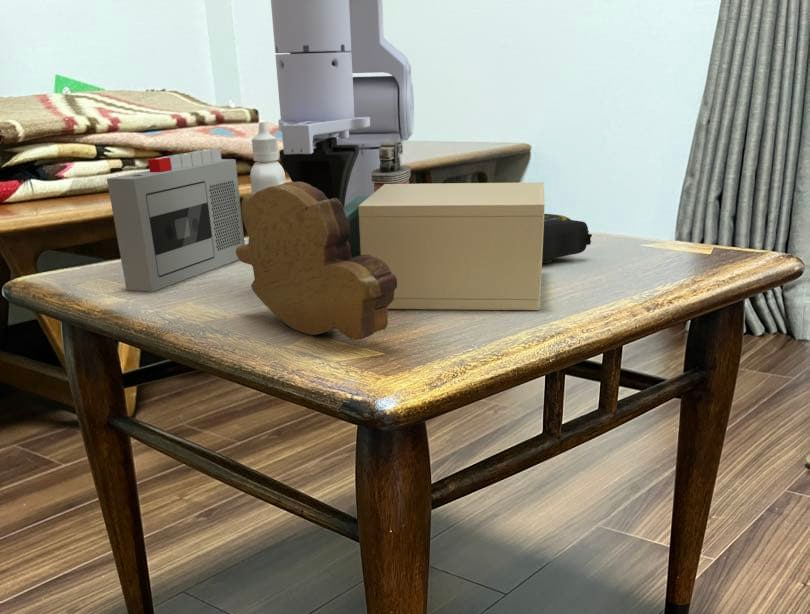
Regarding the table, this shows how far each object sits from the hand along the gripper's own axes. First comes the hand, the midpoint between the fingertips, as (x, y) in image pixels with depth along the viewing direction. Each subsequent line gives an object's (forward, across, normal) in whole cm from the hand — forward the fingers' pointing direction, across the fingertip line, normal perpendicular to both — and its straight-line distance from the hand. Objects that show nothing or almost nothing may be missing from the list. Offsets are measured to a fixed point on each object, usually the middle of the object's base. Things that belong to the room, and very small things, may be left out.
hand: (325, 242), depth 72 cm
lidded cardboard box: (+4, 0, -11) cm, 12 cm away
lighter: (+4, +18, -3) cm, 19 cm away
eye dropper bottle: (+4, +16, +9) cm, 19 cm away
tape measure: (+4, +12, -18) cm, 22 cm away
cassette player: (+4, +7, +15) cm, 17 cm away
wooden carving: (+4, -13, -2) cm, 13 cm away
